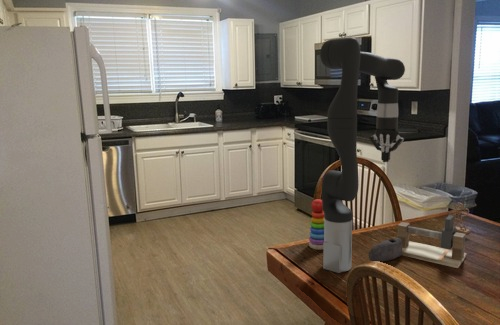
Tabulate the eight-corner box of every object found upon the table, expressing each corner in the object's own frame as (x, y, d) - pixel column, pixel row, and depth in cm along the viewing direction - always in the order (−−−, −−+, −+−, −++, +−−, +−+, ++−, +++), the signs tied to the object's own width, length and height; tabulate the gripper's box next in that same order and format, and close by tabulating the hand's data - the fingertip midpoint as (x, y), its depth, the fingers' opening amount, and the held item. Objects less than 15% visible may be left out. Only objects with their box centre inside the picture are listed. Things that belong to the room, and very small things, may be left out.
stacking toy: (328, 242, 167) (329, 196, 163) (330, 250, 159) (330, 202, 156) (308, 242, 168) (308, 196, 164) (309, 250, 160) (309, 202, 156)
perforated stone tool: (373, 266, 145) (373, 247, 144) (363, 261, 150) (363, 242, 148) (407, 258, 151) (408, 240, 150) (396, 253, 156) (397, 235, 154)
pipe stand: (457, 268, 142) (459, 241, 140) (392, 253, 156) (393, 228, 154) (466, 256, 151) (468, 230, 149) (404, 242, 165) (405, 219, 163)
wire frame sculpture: (444, 228, 179) (446, 201, 177) (449, 226, 181) (451, 199, 179) (466, 234, 172) (468, 205, 170) (470, 232, 174) (472, 204, 172)
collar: (450, 249, 145) (451, 220, 143) (440, 247, 147) (442, 219, 145) (454, 243, 150) (456, 215, 148) (445, 242, 152) (447, 214, 150)
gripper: (366, 115, 158) (364, 161, 161) (401, 117, 150) (399, 165, 153) (374, 114, 164) (372, 158, 167) (408, 115, 155) (406, 161, 159)
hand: (385, 161), depth 160 cm, fingers closed
